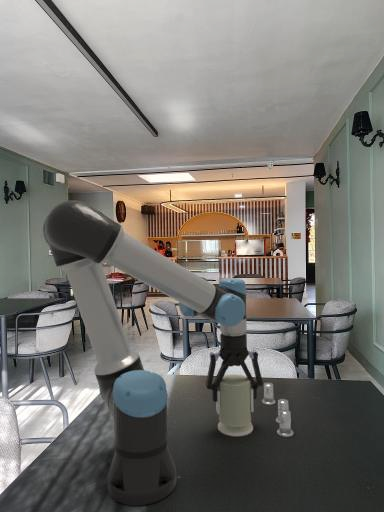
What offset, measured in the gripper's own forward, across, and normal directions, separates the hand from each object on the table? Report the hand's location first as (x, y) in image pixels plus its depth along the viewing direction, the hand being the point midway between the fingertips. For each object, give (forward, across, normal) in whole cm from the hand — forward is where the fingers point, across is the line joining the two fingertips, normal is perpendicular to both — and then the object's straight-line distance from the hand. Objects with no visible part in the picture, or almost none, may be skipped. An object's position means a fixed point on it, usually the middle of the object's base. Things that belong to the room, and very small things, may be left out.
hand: (234, 411), depth 108 cm
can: (+3, 0, 0) cm, 3 cm away
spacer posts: (+5, -8, -6) cm, 11 cm away
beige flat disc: (+5, 0, 0) cm, 5 cm away
